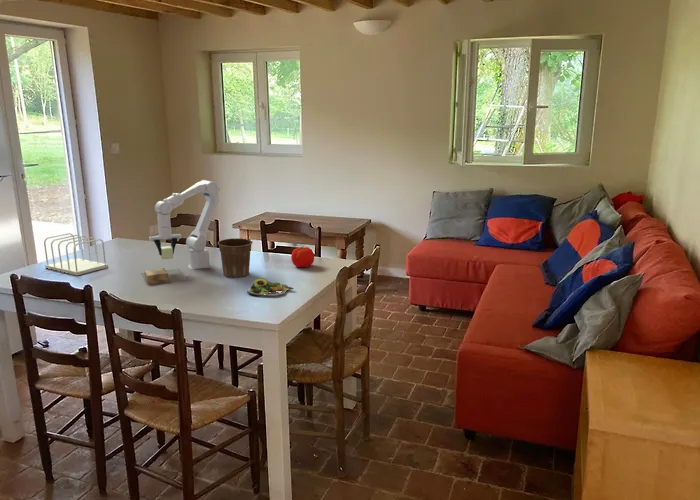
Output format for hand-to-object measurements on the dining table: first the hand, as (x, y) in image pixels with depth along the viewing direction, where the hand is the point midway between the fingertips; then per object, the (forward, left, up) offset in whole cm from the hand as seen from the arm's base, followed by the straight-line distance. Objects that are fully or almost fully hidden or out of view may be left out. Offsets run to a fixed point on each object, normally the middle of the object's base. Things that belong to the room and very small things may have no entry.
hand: (166, 254), depth 266 cm
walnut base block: (+7, +11, -9) cm, 16 cm away
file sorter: (+39, -29, -10) cm, 49 cm away
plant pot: (-29, +17, -10) cm, 35 cm away
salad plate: (-34, +47, -10) cm, 59 cm away
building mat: (+3, +6, -9) cm, 11 cm away
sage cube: (0, 0, -2) cm, 2 cm away
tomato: (-63, +18, -10) cm, 66 cm away
